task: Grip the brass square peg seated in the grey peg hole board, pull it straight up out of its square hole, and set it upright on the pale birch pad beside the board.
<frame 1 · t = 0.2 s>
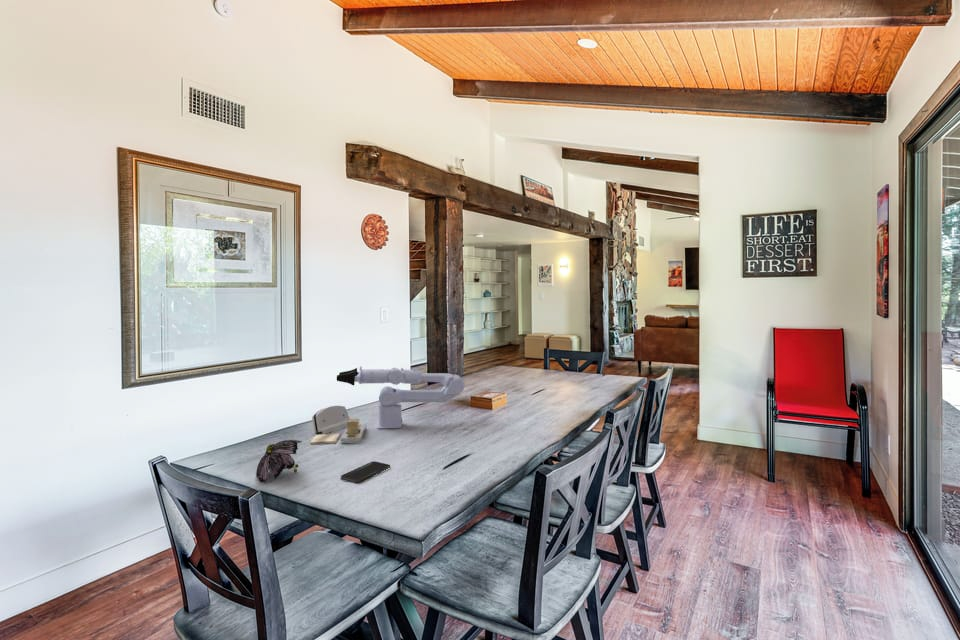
hand: (338, 376, 200), 21 cm above the table, tool horizontal, fingers open, 7 cm apart
birch pad: (325, 439, 186), on the table
grey peg hole board: (354, 436, 191), on the table
decorative flower: (280, 475, 152), on the table
brass peg: (353, 437, 190), resting in grey peg hole board
grey rounded upright block: (332, 429, 201), on the table
phone: (366, 474, 153), on the table
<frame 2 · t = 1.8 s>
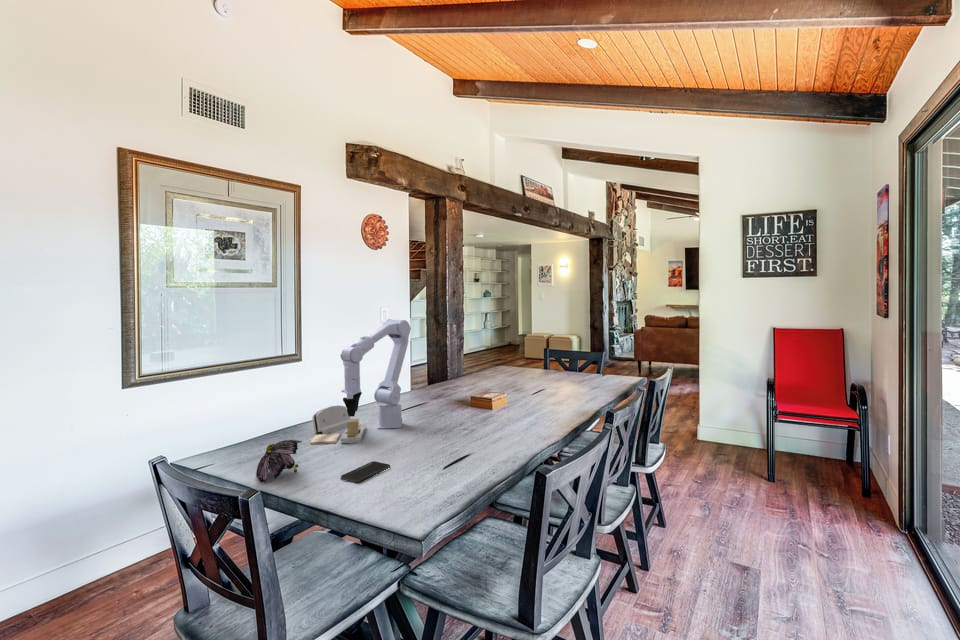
hand: (353, 413, 189), 9 cm above the table, tool pointing down, fingers open, 7 cm apart
nothing on the table moved.
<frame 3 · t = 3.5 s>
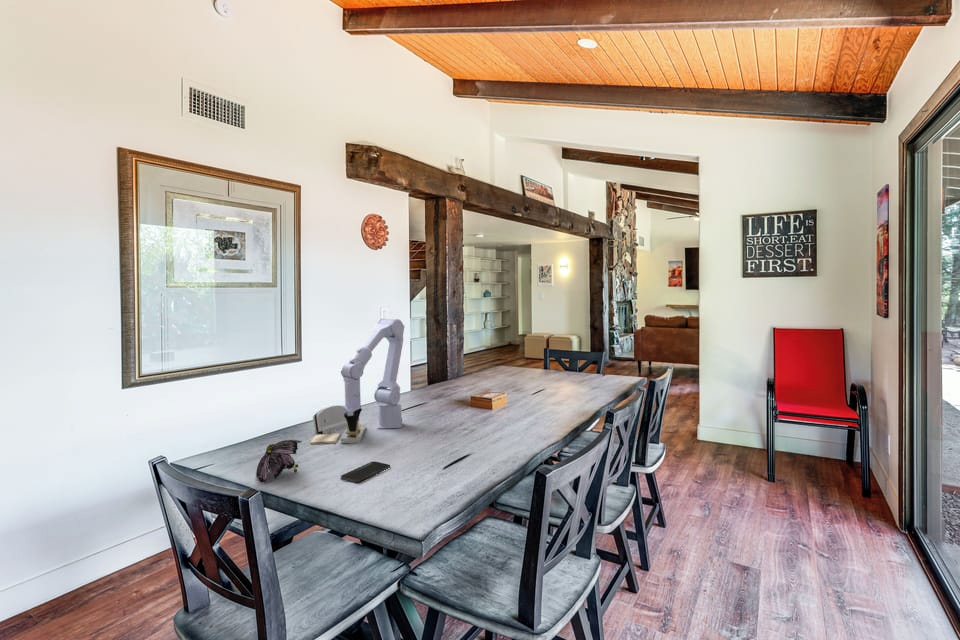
hand: (353, 429, 189), 3 cm above the table, tool pointing down, fingers closed on brass peg, 4 cm apart
brass peg: (353, 436, 190), resting in grey peg hole board, touching gripper
everything else where it was.
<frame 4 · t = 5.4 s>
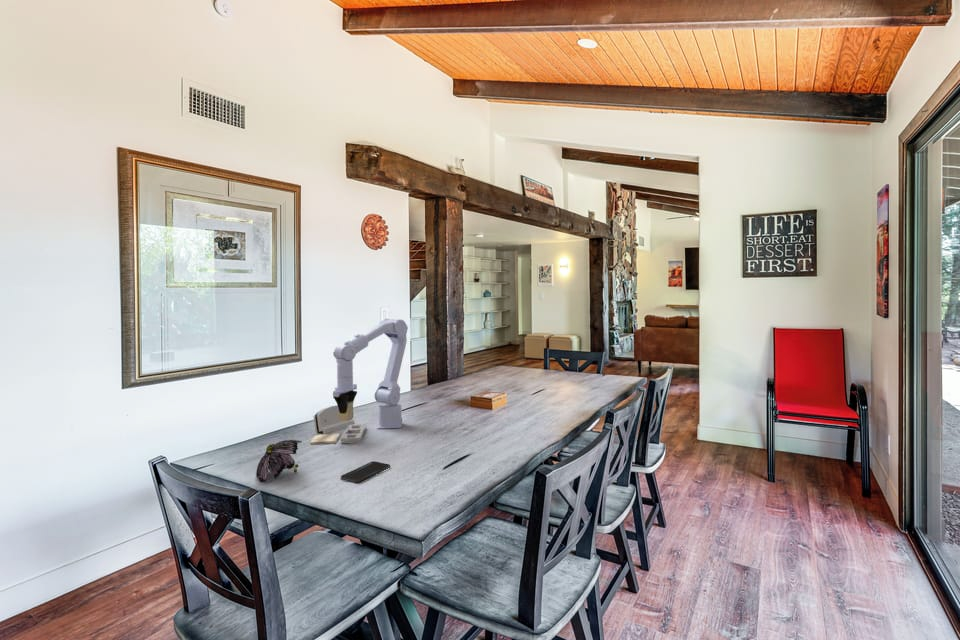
hand: (345, 411, 188), 10 cm above the table, tool pointing down, fingers closed on brass peg, 4 cm apart
brass peg: (346, 419, 188), point 7 cm above the table, touching gripper
everything else where it was.
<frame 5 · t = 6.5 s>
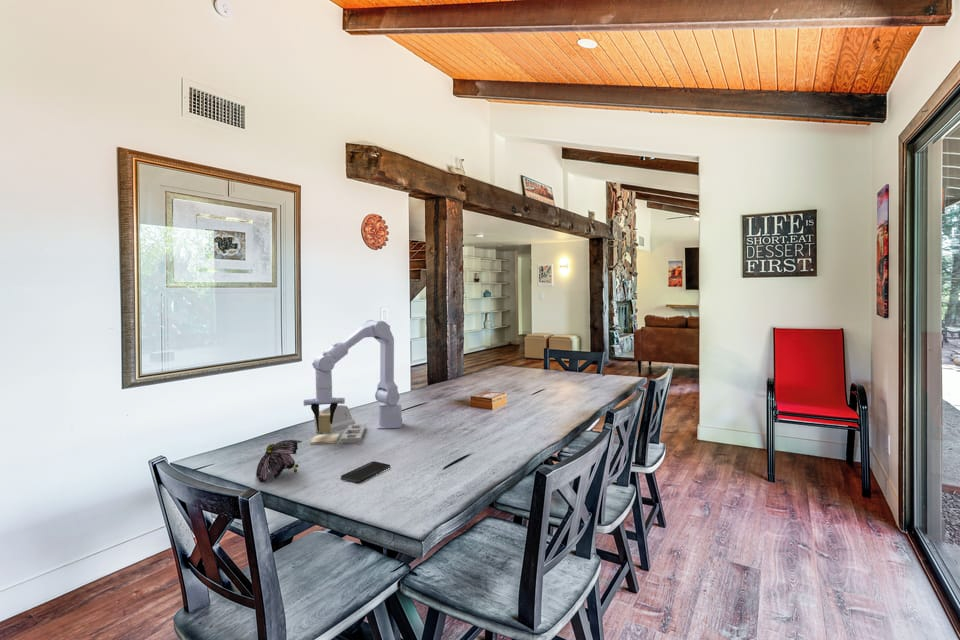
hand: (324, 423, 186), 6 cm above the table, tool pointing down, fingers closed on brass peg, 4 cm apart
brass peg: (325, 431, 186), point 3 cm above the table, touching gripper
everything else where it was.
when the fingers open (5 cm above the table, at t = 7.5 s): brass peg drops 1 cm, resting on birch pad.
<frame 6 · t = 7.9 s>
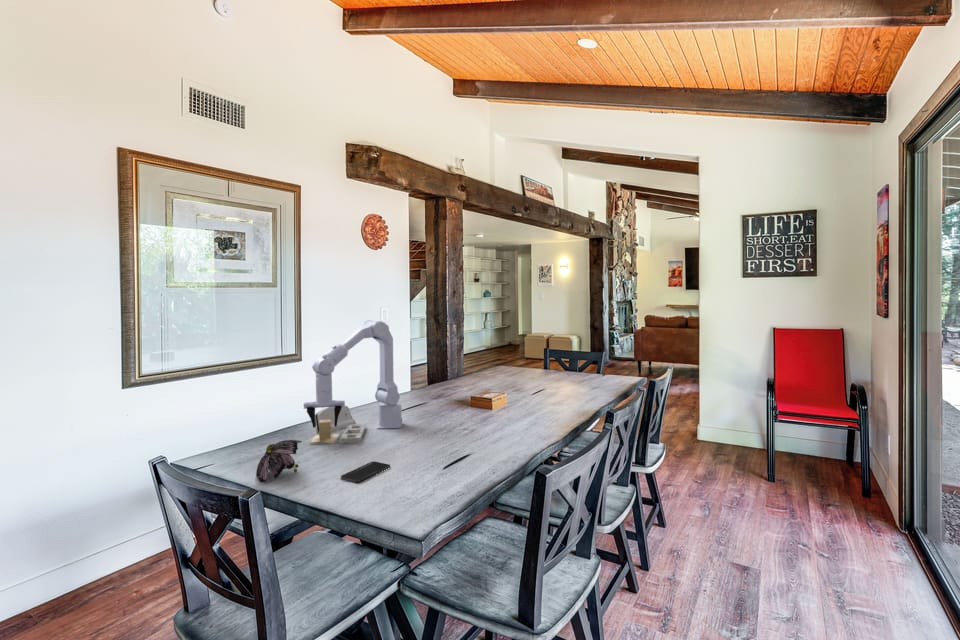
hand: (325, 426, 186), 5 cm above the table, tool pointing down, fingers open, 7 cm apart
brass peg: (325, 437, 186), point 1 cm above the table, touching birch pad
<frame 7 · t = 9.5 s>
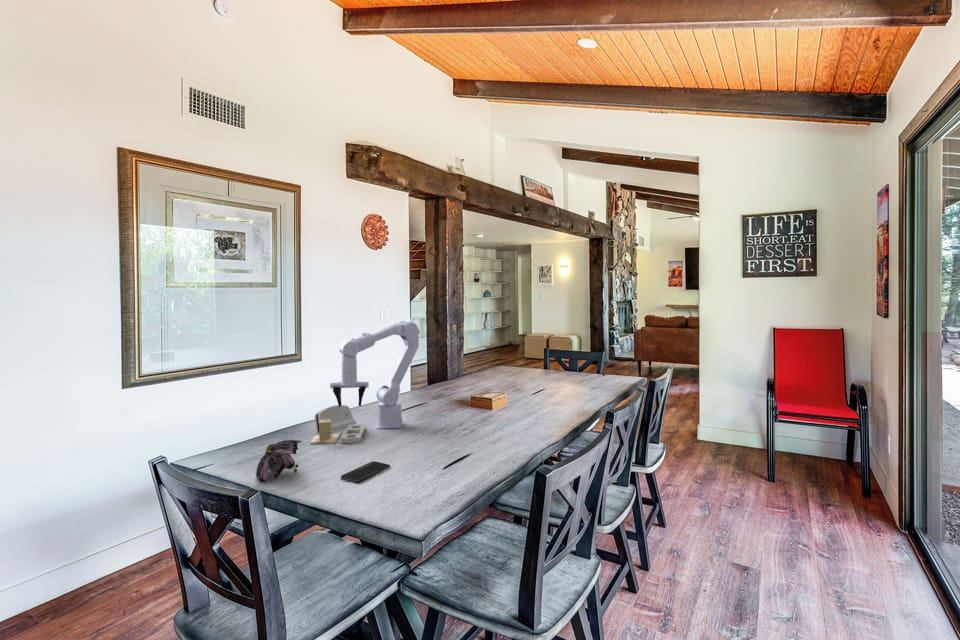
hand: (350, 405, 196), 10 cm above the table, tool pointing down, fingers open, 7 cm apart
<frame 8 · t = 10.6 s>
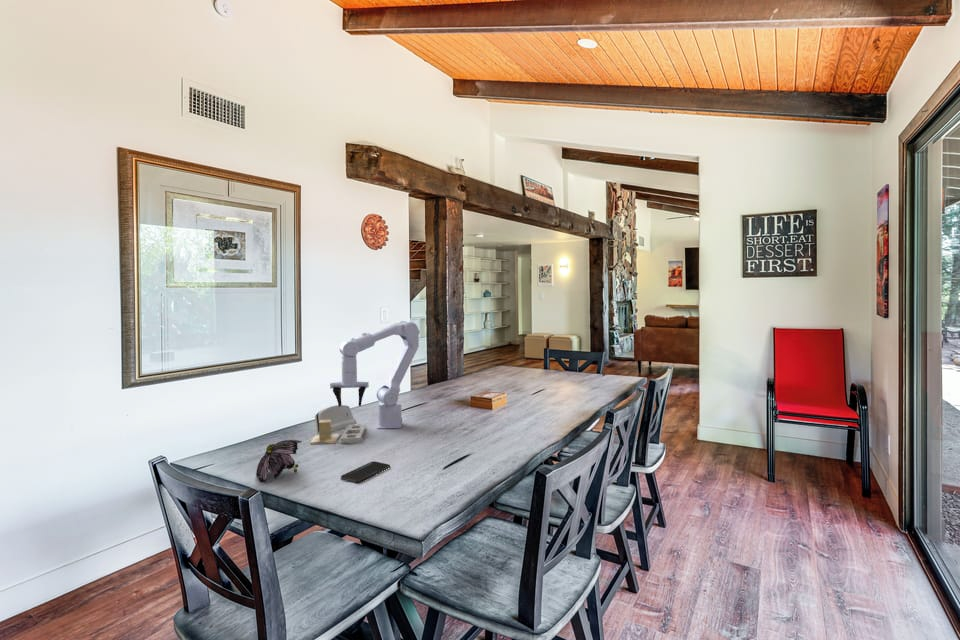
hand: (350, 405, 196), 10 cm above the table, tool pointing down, fingers open, 7 cm apart
at the end: brass peg 0.1 cm off-centre on the birch pad, point 0.8 cm above the birch pad's base; brass peg tilted 0°; the gripper is holding nothing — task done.
